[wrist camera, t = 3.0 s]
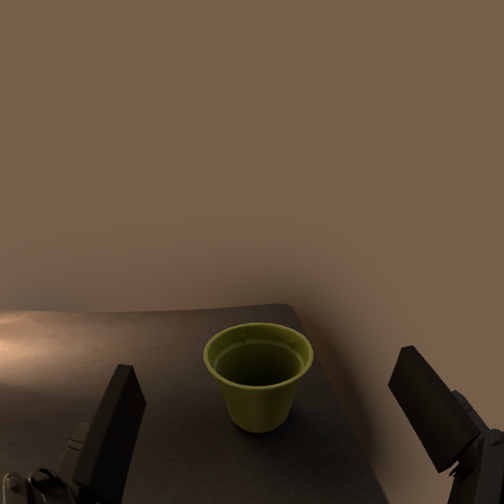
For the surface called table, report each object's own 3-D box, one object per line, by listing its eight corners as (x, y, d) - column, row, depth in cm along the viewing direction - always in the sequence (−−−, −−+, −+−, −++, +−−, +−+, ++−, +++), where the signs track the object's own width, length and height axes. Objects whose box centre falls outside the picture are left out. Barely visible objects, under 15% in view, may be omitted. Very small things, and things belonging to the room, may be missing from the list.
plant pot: (215, 383, 30) (207, 323, 27) (295, 378, 30) (300, 319, 27) (212, 447, 21) (198, 390, 18) (311, 440, 21) (326, 381, 18)
